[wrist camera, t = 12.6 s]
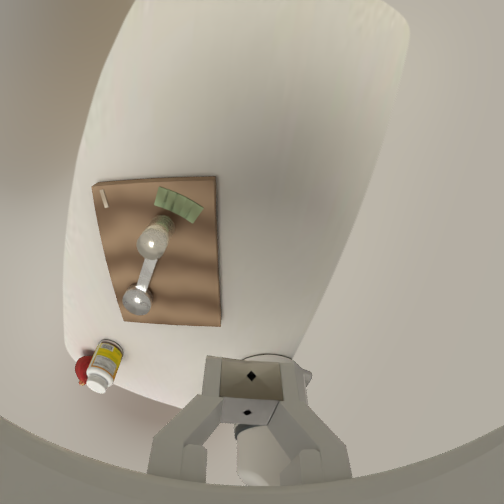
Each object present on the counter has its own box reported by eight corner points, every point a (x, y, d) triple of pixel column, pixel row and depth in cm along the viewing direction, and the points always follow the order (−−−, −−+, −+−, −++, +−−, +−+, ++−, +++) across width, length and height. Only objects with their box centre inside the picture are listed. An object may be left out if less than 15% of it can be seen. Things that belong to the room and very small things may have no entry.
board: (221, 318, 46) (220, 327, 44) (127, 313, 45) (123, 321, 43) (215, 176, 35) (213, 180, 33) (98, 182, 34) (90, 187, 32)
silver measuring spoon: (149, 311, 42) (138, 340, 36) (123, 300, 41) (110, 327, 35) (184, 219, 35) (173, 243, 29) (152, 206, 34) (135, 226, 28)
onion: (91, 345, 50) (78, 374, 43) (110, 362, 52) (99, 391, 45) (78, 351, 51) (64, 378, 44) (95, 367, 54) (85, 394, 47)
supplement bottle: (111, 358, 52) (96, 396, 43) (94, 341, 49) (76, 379, 40) (129, 354, 51) (115, 395, 42) (112, 336, 48) (94, 376, 39)
